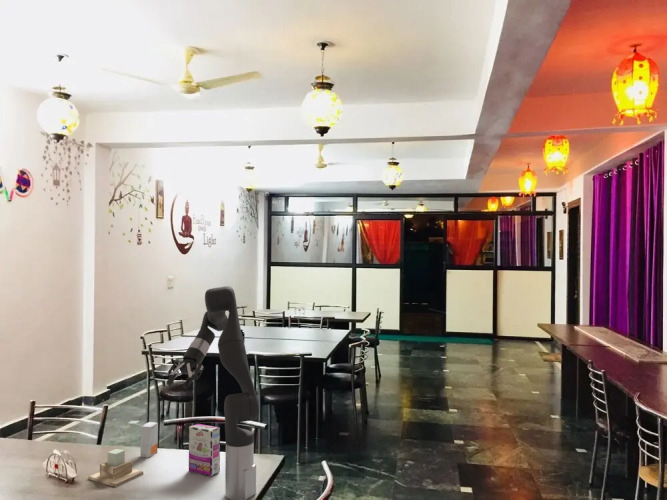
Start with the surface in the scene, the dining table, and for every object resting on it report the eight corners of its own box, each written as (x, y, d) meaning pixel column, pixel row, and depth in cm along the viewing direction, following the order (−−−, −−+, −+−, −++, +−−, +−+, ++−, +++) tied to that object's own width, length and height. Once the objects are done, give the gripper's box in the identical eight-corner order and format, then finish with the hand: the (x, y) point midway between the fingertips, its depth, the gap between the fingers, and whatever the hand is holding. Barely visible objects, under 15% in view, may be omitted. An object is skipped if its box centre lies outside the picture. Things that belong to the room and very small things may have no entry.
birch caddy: (143, 474, 190) (143, 460, 190) (115, 487, 179) (115, 472, 179) (116, 467, 196) (116, 453, 196) (88, 479, 185) (88, 464, 185)
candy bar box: (220, 472, 192) (220, 427, 192) (211, 477, 187) (211, 431, 187) (197, 466, 197) (197, 422, 197) (187, 471, 192) (188, 426, 193)
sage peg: (124, 472, 188) (124, 450, 189) (115, 476, 185) (115, 454, 185) (116, 470, 190) (116, 448, 190) (107, 474, 187) (107, 452, 187)
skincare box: (149, 457, 205) (150, 427, 206) (140, 456, 206) (140, 426, 206) (158, 452, 211) (158, 422, 212) (148, 451, 212) (148, 421, 212)
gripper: (178, 345, 214) (157, 378, 204) (206, 347, 208) (186, 382, 197) (187, 356, 219) (167, 389, 208) (214, 358, 213) (195, 393, 202)
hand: (176, 386), depth 203 cm, fingers open, 8 cm apart
